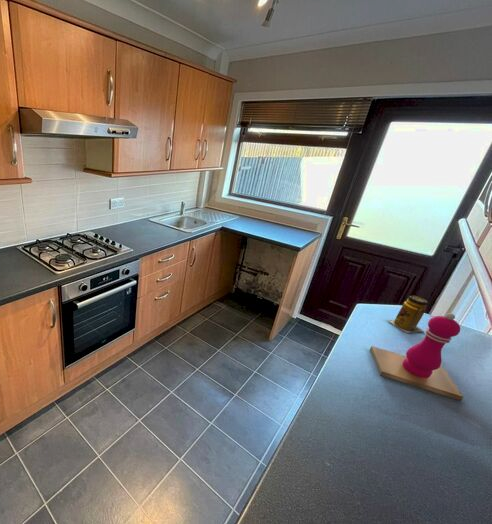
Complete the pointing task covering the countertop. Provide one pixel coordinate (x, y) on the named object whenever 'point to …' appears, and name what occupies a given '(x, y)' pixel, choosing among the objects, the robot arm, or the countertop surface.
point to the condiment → (410, 314)
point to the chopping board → (393, 368)
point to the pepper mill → (431, 346)
